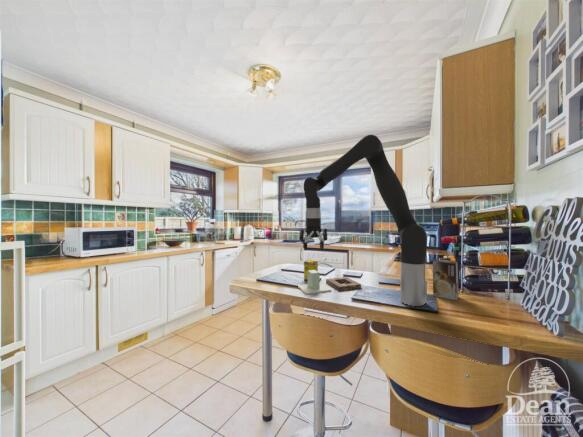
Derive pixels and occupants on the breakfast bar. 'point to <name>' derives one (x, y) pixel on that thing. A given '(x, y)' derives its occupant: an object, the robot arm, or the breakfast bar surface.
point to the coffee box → (445, 279)
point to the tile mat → (311, 291)
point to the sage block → (313, 279)
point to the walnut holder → (348, 286)
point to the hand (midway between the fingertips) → (313, 249)
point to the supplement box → (309, 267)
